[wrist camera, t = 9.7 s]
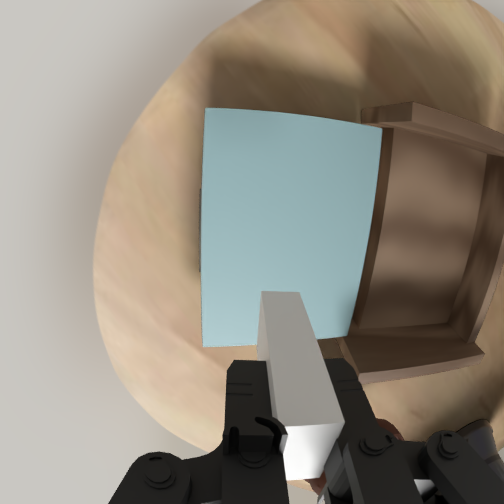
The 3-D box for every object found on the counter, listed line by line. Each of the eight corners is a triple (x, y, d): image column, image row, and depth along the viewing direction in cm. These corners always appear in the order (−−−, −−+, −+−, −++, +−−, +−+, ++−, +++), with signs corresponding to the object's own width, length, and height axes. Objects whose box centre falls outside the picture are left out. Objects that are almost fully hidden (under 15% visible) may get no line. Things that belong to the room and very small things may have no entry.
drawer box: (442, 321, 30) (479, 363, 22) (330, 328, 29) (355, 384, 21) (482, 142, 23) (540, 152, 15) (362, 109, 22) (412, 101, 14)
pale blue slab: (347, 335, 25) (201, 347, 23) (334, 318, 28) (200, 326, 25) (382, 128, 19) (203, 107, 17) (362, 127, 22) (202, 111, 19)
